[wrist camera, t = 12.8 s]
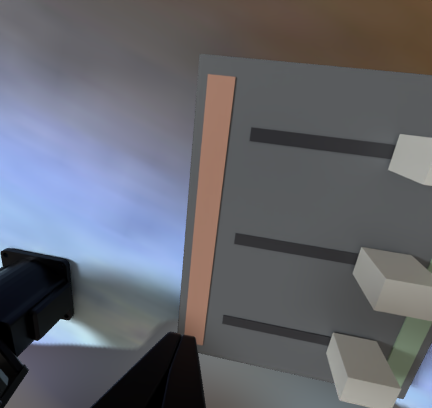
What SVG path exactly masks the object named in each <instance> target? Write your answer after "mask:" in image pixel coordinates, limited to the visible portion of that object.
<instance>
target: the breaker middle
mask: <svg viewBox="0 0 432 408" xmlns="http://www.w3.org/2000/svg"><path fill="white" fill-rule="evenodd" d="M353 275H354V277H355V279H356V280H357V282H358V284H359V286H360V287H361V289H362V291H363V292H364V294H365V296H366V298H367V299H368V301H369V303H370V304H371V306H372V308H373V310H375V311H380V312H386V313H391V314H396V315H401V316H406V317H412V318H417V319H422V320H427V321H432V273H430V272H429V271H428V270H427V269H426V268H425V267H424V266H423V265H422V264H421V263H420V262H419V261H417V260H416V259H415V258H414V257H413V256H412V255H407V254H401V253H395V252H389V251H383V250H377V249H371V248H365V247H361V250H360V253H359V256H358V259H357V262H356V265H355V268H354V271H353Z"/></svg>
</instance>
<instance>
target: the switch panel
mask: <svg viewBox="0 0 432 408" xmlns="http://www.w3.org/2000/svg"><path fill="white" fill-rule="evenodd" d="M400 134H405V135H413V136H422V137H430V138H432V75H422V74H411V73H401V72H390V71H379V70H368V69H357V68H347V67H336V66H325V65H314V64H304V63H293V62H282V61H271V60H260V59H250V58H239V57H228V56H217V55H206V54H200V55H199V68H198V81H197V93H196V106H195V118H194V131H193V144H192V156H191V169H190V181H189V194H188V207H187V219H186V232H185V245H184V257H183V270H182V282H181V295H180V308H179V320H178V333H180V334H181V335H184V334H185V335H190V336H194V337H195V338H196V343H197V350H198V353H201V354H206V355H210V356H215V357H219V358H223V359H228V360H233V361H237V362H241V363H246V364H250V365H255V366H259V367H263V368H268V369H272V370H277V371H281V372H286V373H290V374H294V375H299V376H303V377H308V378H312V379H316V380H321V381H325V382H330V383H334V380H333V376H332V372H331V369H330V365H329V362H328V358H327V354H326V352H327V349H328V346H329V343H330V340H331V337H332V334H333V333H338V334H343V335H348V336H353V337H358V338H363V339H368V340H373V341H377V343H378V345H379V347H380V349H381V351H382V353H383V355H384V357H385V358H386V360H387V362H388V364H389V366H390V368H391V370H392V372H393V374H394V376H395V378H396V380H397V382H398V384H399V386H400V388H401V391H400V393H399V395H398V397H397V398H401V399H404V397H405V395H406V393H407V391H408V389H409V387H410V385H411V383H412V381H413V379H414V377H415V375H416V373H417V371H418V369H419V367H420V365H421V363H422V361H423V359H424V357H425V355H426V353H427V351H428V349H429V347H430V345H431V343H432V321H427V320H422V319H417V318H412V317H406V316H401V315H396V314H391V313H386V312H380V311H375V310H373V308H372V306H371V304H370V303H369V301H368V299H367V298H366V296H365V294H364V292H363V291H362V289H361V287H360V286H359V284H358V282H357V280H356V279H355V277H354V275H353V271H354V268H355V265H356V262H357V259H358V256H359V253H360V250H361V247H365V248H371V249H377V250H383V251H389V252H395V253H401V254H407V255H412V256H413V257H414V258H415V259H416V260H417V261H419V262H420V263H421V264H422V265H423V266H424V267H425V268H426V269H427V270H428V271H429V272H430V273H432V186H429V185H423V184H420V183H418V182H416V181H413V180H411V179H409V178H406V177H404V176H401V175H399V174H397V173H394V172H392V171H390V170H388V168H389V165H390V162H391V159H392V156H393V153H394V150H395V147H396V144H397V141H398V138H399V135H400ZM334 384H335V383H334Z"/></svg>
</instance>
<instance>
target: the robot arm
mask: <svg viewBox="0 0 432 408" xmlns="http://www.w3.org/2000/svg"><path fill="white" fill-rule="evenodd" d="M1 258H2V264H3V267H1V268H0V408H4V407H5V405H6V404H7V402H8V401H9V399H10V398H11V396H12V395H13V393H14V392H15V390H16V389H17V387H18V386H19V384H20V383H21V381H22V380H23V379H24V377H25V375H26V374H27V373H28V371H29V369H28V368H27V367H26V366H25V365H23V364H22V363H21V362H20V361H19V359H18V358H17V357H18V356H19V355H20V354H21V353H22V352H23V351H24V350H25V349H26V348H27V347H28V346H29V345H30V344H31V343H32V342H33V341H34V340H36V341H38V340H40V339H41V338H42V337H43V336H44V335H45V334H46V333H47V332H48V331H49V330H50V329H51V328H52V327H53V326H54V325H55V324H56V323H57V322H58V321H59V320H60V319H64V320H70V319H71V318H72V317H73V316H74V311H73V300H72V288H71V277H70V265H69V262H68V261H67V260H65V259H61V258H56V257H51V256H46V255H41V254H36V253H31V252H25V251H20V250H15V249H10V248H6V249H5V250H3V251H1ZM62 264H63V265H62ZM90 408H206V405H205V398H204V391H203V384H202V378H201V370H200V364H199V357H198V350H197V343H196V338H195V337H194V336H190V335H185V334H184V335H181V334H180V333H174V332H169V333H167V334H166V335H165V336H164V337H163V338H162V339H161V340H160V341H159V342H158V343H157V344H156V345H155V346H154V347H153V348H152V349H150V350H149V351H148V352H147V353H146V354H145V355H144V356H143V357H142V358H141V359H140V360H139V361H138V362H137V363H136V364H135V365H134V366H133V367H132V368H131V369H130V370H129V371H128V372H127V373H126V374H125V375H124V376H123V377H122V378H120V380H118V381H117V382H116V383H115V384H114V385H113V386H112V387H111V388H110V389H109V390H108V391H107V392H106V393H105V394H104V395H103V396H102V397H101V398H100V399H99V400H98V401H97V402H96V403H94V404H93V405H92V406H91V407H90Z"/></svg>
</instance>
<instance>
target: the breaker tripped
mask: <svg viewBox="0 0 432 408" xmlns="http://www.w3.org/2000/svg"><path fill="white" fill-rule="evenodd" d="M388 170H390V171H392V172H394V173H397V174H399V175H401V176H404V177H406V178H409V179H411V180H413V181H416V182H418V183H420V184H423V185H429V186H432V138H430V137H422V136H413V135H405V134H400V135H399V138H398V141H397V144H396V147H395V150H394V153H393V156H392V159H391V162H390V165H389V168H388Z"/></svg>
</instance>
